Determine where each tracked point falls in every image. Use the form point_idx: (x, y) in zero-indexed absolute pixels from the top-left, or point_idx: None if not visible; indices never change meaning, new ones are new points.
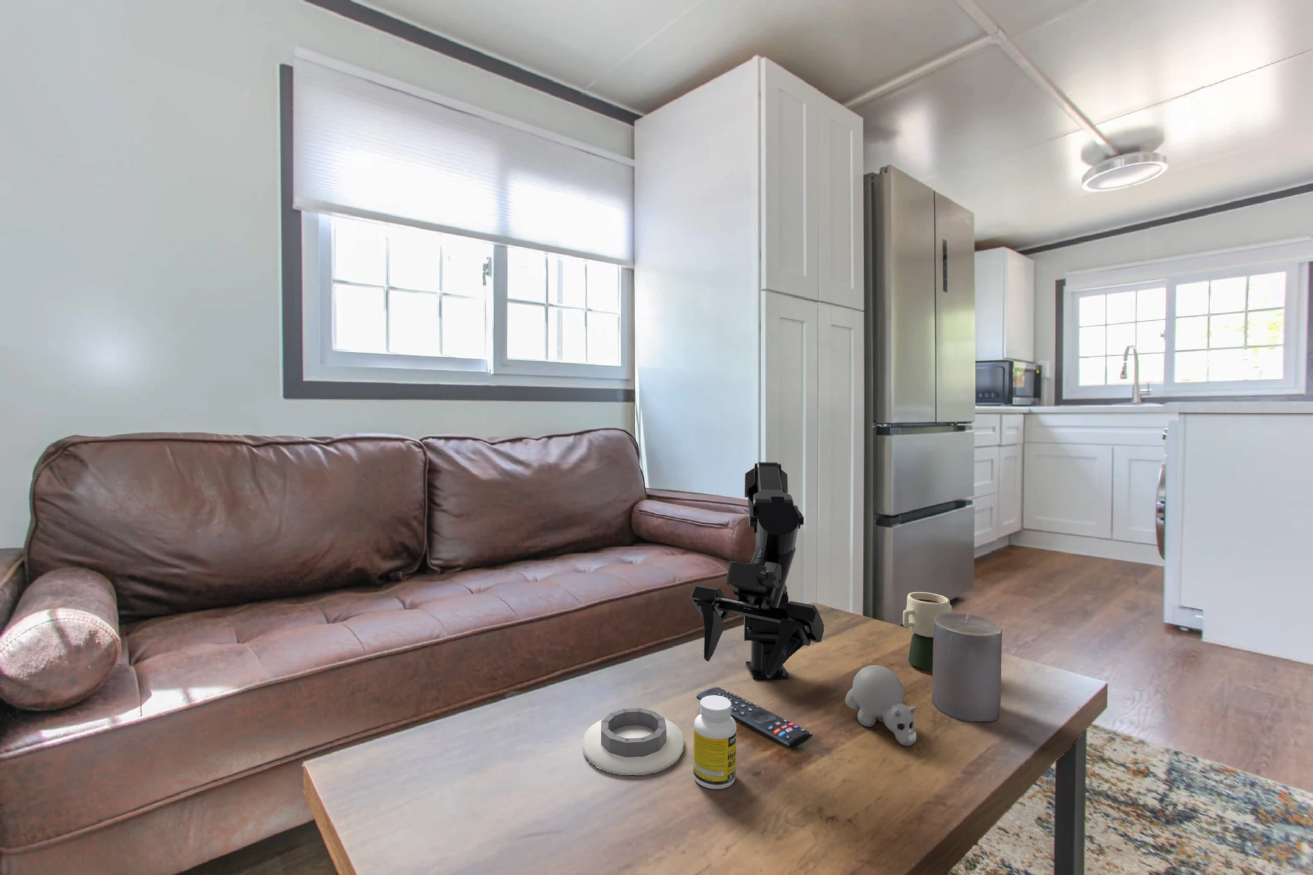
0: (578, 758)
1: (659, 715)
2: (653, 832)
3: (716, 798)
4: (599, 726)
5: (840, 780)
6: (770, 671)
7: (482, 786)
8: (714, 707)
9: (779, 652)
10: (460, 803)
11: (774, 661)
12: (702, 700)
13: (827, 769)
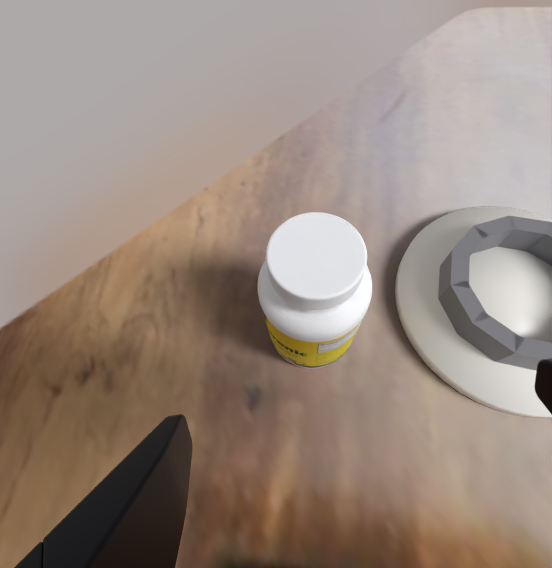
0: None
1: (538, 355)
2: (295, 181)
3: None
4: None
5: None
6: (157, 426)
7: (533, 101)
8: (297, 226)
9: (62, 525)
10: (511, 77)
11: (121, 463)
12: (353, 234)
13: None
